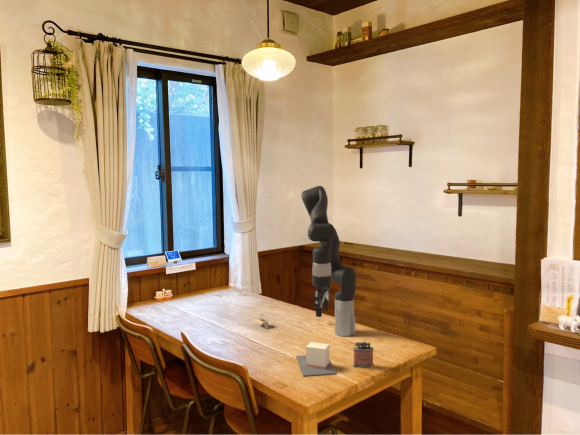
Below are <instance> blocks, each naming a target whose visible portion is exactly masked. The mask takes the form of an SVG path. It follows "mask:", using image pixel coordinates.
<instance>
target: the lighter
mask: <svg viewBox="0 0 580 435" xmlns="http://www.w3.org/2000/svg"><path fill="white" fill-rule="evenodd" d="M352 349H353V364H352V365H353V367H354V368H356V367H368V368H372V367H371V366H373V367H374V347H373V346H371V342H369V341H368V342H367V341H365V340H364V341H363V340H362V341H361V342H360V341H357V342H354V347H352Z"/></svg>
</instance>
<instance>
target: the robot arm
mask: <svg viewBox="0 0 580 435" xmlns="http://www.w3.org/2000/svg"><path fill="white" fill-rule="evenodd" d="M301 200H302V203H303V204H304V207H305V209H306V212H307V213H308V216H309V218H310V224H309V226H308V229H307V237H308V239H309V240H310V241H312V242H314V243H315V242H317V243H319V244H320V246H317V247H314V248H313V249H312V269H311V270H312V272H311V273H312V274H311V275H312V276H311V277H312V279H311V280H312V286H313V287H316V290H315V291H313V295H312V298H313V301H312V302H313V306H312V307H313V308H315V316H316V317H318V318H322V317H323V311H326V312H327V311H329V302H330V299H331V286H332V282H333V283H335V284H336V285H339V286H340V290H339V291H336V292H335V293H334V333H335V334H334V335H336V336H340V337H351V336H353V335H356V315H355V304H354V303H355V302H354V301H355V299H354V298H355V294H356V286H357V285H356V284H357V282H356V281H357V274H356V271H355V269H354V268H352V267H349V266H346V265H343V263H342V261H341V258H340V256H339V252H340V248H341V247H340V244H341V242H340V241H341V240H340V237H339V235H338V232H337V229H336V227H334V225H333V224H331V223H330V222H329V218H328V207H329V205H328V204H329V199H328V194H327V191H326V189H325V187H324V186H322V185H317V186H314V187H311V188H308V189H305V190H303V191H302V192H301Z"/></svg>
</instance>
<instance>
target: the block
mask: <svg viewBox="0 0 580 435" xmlns="http://www.w3.org/2000/svg"><path fill="white" fill-rule="evenodd" d="M305 348H306V349H305V350H306V351H305V355H306V366H310V367H316V368H323V369H326V367H327V366H328V365H329V360H330V344H328V343H323V342H321V343H320V342H313V341H310V342H309V343H308V344H307V345H306V347H305Z"/></svg>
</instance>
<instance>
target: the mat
mask: <svg viewBox="0 0 580 435" xmlns="http://www.w3.org/2000/svg"><path fill="white" fill-rule="evenodd" d="M295 357H296V360H297V363H298V365H299V368H300V370H301V373H302V377H316V376H326V375H327V376H329V375H337V372H336V370H335V367H334V366H333V364H332V362H331V360H330V359H329V365H328V366H327V367H326V369H323V368H316V367H310V366H306V354H305V355H304V354H303V355H296V356H295Z"/></svg>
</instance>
